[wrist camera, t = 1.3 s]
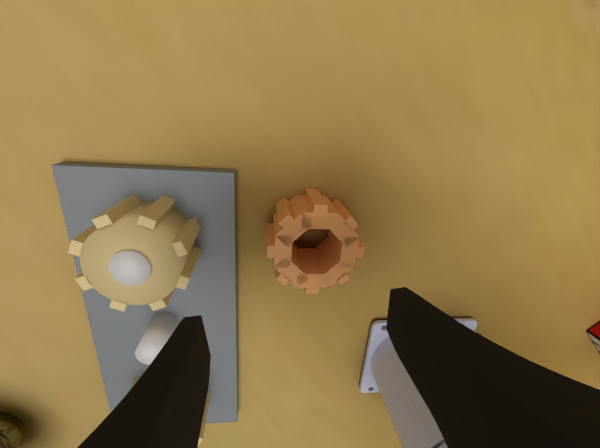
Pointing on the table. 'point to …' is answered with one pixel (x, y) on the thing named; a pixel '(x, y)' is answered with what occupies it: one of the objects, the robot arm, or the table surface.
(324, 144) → the table surface
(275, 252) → the loose gear
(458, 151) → the table surface
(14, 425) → the cup
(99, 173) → the gear board
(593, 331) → the puzzle toy
